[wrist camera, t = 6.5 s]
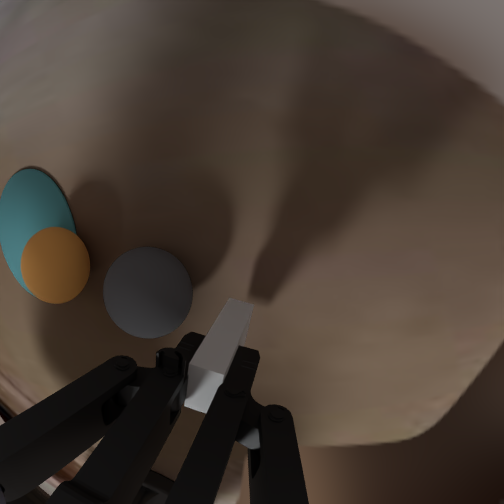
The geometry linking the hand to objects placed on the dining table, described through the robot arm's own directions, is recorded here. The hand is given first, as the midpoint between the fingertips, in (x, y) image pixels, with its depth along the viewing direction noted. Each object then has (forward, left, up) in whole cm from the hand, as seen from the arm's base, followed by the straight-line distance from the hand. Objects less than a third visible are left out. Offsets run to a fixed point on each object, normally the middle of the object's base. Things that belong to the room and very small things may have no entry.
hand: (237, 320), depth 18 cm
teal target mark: (+14, +14, -2) cm, 20 cm away
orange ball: (+10, +10, +1) cm, 14 cm away
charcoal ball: (+4, +4, +1) cm, 6 cm away
